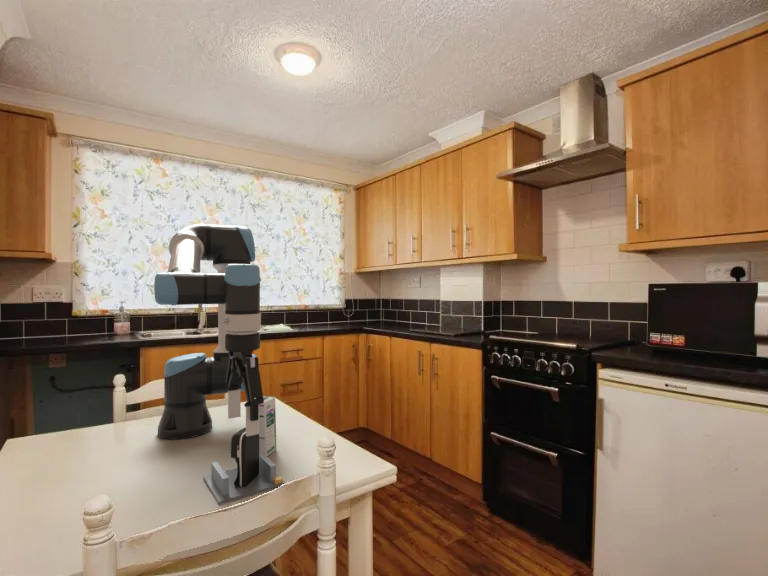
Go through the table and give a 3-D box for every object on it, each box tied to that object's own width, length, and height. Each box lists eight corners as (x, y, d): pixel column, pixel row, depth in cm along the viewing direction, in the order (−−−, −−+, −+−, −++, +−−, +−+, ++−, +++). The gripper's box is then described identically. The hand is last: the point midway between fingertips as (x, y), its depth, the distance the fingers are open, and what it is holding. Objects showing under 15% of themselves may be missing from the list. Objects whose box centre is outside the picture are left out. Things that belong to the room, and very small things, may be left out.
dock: (203, 479, 95) (203, 461, 95) (263, 463, 103) (263, 447, 103) (219, 504, 83) (218, 484, 83) (284, 485, 92) (284, 466, 92)
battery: (245, 473, 97) (245, 424, 97) (260, 474, 96) (260, 425, 96) (228, 487, 90) (227, 434, 90) (244, 488, 89) (243, 435, 89)
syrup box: (266, 458, 106) (266, 402, 107) (245, 456, 108) (245, 400, 108) (276, 449, 112) (276, 396, 112) (256, 448, 113) (256, 395, 113)
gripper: (211, 327, 101) (212, 413, 102) (242, 340, 81) (243, 447, 81) (242, 326, 106) (242, 408, 106) (279, 337, 85) (279, 439, 86)
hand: (242, 425), depth 94 cm, fingers open, 13 cm apart
